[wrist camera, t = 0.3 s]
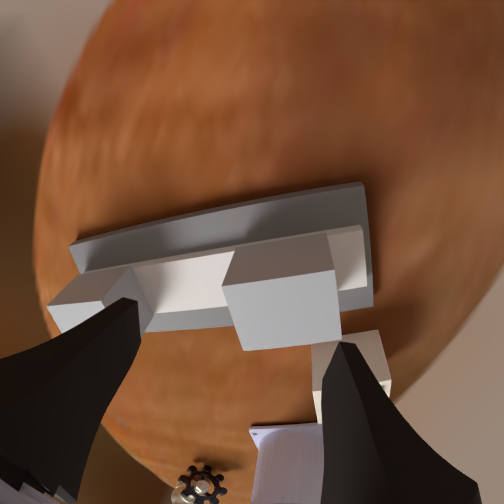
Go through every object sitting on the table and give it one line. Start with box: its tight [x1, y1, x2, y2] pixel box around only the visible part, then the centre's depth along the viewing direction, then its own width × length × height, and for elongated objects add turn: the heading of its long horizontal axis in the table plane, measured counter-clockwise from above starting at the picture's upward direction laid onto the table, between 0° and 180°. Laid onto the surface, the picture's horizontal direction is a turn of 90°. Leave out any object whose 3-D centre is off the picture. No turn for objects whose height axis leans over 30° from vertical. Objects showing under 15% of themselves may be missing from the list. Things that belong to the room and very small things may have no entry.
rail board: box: [47, 181, 374, 351], centre depth 18 cm, size 8×20×6 cm, turn 104°
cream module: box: [311, 329, 391, 424], centre depth 20 cm, size 4×5×5 cm
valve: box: [171, 465, 227, 504], centre depth 35 cm, size 7×7×12 cm
